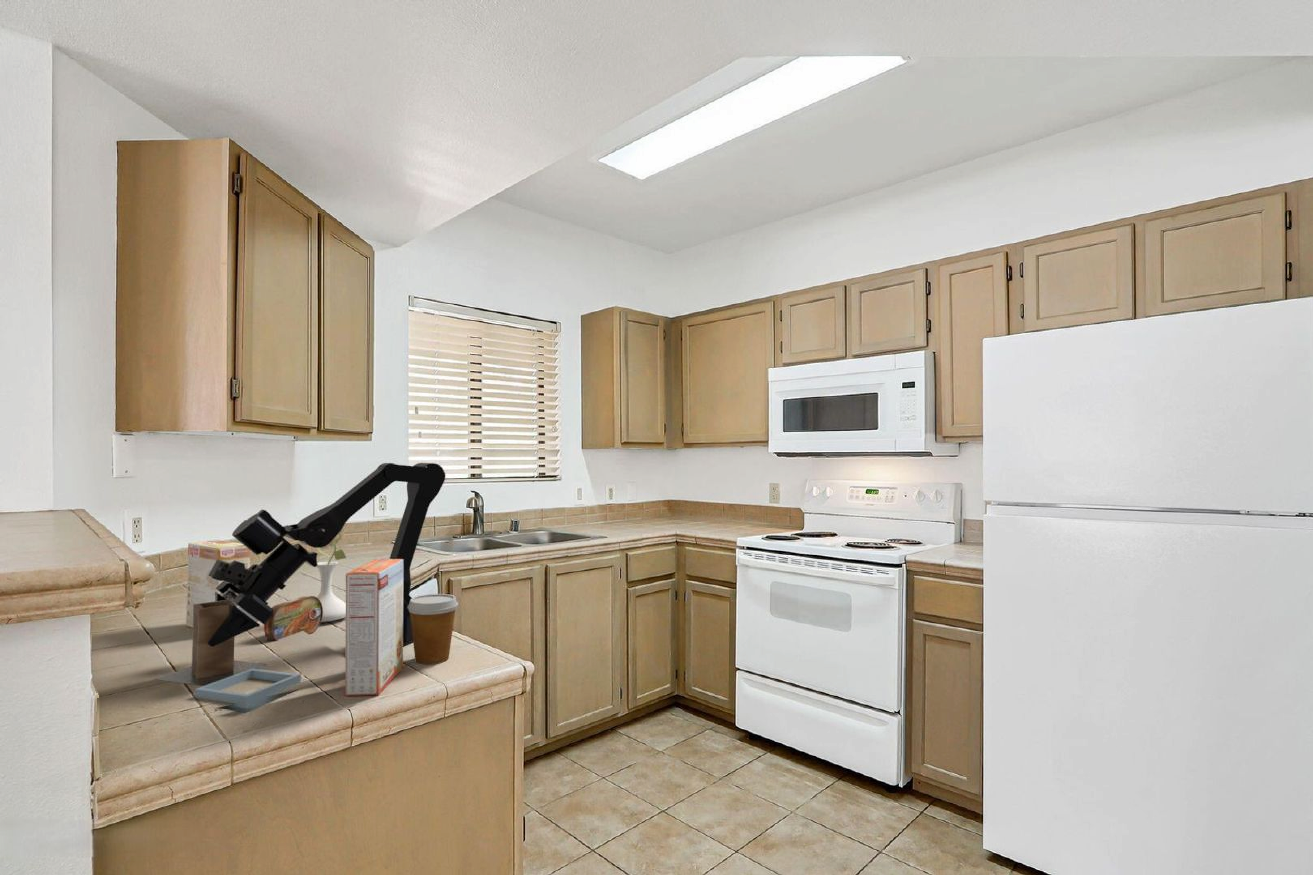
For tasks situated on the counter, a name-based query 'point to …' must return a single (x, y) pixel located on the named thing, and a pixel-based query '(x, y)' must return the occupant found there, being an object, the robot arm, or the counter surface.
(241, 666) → the plate
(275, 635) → the tin
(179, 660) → the counter surface
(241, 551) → the coffeecake box
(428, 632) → the disposable coffee cup
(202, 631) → the walnut collar
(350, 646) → the cracker box
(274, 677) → the slate tray
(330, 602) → the flower in vase
